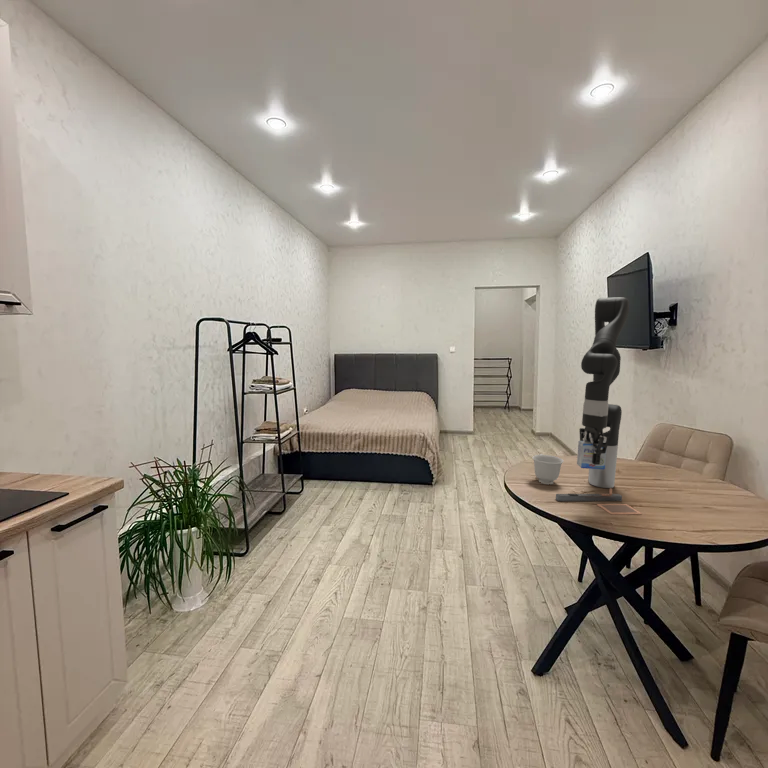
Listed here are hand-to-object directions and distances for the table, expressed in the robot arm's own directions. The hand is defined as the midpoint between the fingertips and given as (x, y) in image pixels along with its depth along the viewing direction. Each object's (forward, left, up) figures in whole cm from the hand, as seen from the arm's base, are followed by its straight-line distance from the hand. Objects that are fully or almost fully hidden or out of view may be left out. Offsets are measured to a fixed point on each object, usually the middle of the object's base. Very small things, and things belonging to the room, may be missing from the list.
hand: (591, 461), depth 141 cm
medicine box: (0, 0, -2) cm, 2 cm away
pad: (0, +11, -17) cm, 20 cm away
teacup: (-29, -2, -17) cm, 34 cm away
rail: (-8, +5, -17) cm, 20 cm away
